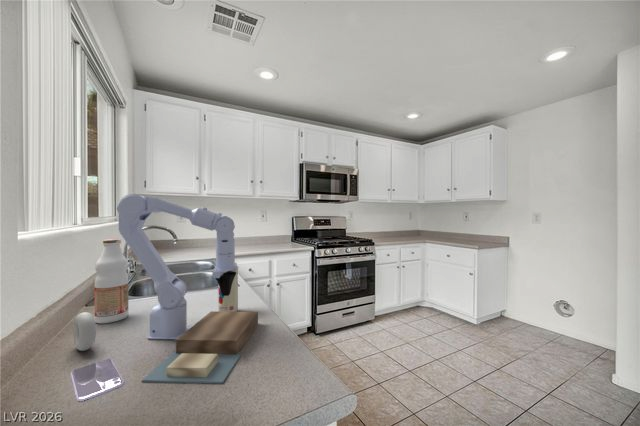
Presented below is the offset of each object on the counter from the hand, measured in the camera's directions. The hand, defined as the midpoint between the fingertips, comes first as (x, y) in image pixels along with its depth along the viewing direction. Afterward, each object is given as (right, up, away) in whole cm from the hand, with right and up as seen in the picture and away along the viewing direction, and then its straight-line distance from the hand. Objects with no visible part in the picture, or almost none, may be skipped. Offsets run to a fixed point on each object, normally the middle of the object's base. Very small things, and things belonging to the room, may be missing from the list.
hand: (225, 295), depth 85 cm
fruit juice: (-43, -11, +7) cm, 45 cm away
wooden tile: (+1, -8, -24) cm, 25 cm away
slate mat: (+1, -10, -22) cm, 25 cm away
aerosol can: (-4, -11, +13) cm, 17 cm away
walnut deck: (+1, -10, -7) cm, 13 cm away
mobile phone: (-20, -11, -26) cm, 35 cm away
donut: (-34, -11, -14) cm, 38 cm away
